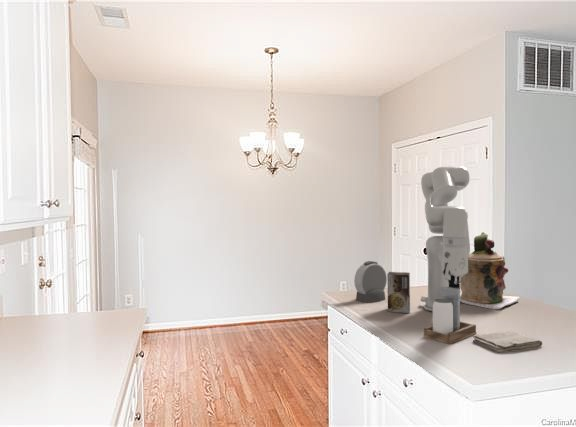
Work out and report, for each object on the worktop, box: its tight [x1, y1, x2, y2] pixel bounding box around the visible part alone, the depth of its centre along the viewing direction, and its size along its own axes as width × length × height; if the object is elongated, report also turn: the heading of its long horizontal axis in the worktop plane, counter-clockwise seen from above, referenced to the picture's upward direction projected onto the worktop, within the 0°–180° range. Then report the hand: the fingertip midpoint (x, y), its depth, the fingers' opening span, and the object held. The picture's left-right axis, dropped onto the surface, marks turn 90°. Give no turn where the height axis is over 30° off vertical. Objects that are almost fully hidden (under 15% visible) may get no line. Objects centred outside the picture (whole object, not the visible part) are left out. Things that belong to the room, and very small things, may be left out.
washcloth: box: [472, 330, 543, 353], centre depth 134 cm, size 12×18×3 cm, turn 109°
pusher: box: [440, 285, 461, 332], centre depth 143 cm, size 7×1×16 cm, turn 39°
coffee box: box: [386, 271, 411, 314], centre depth 176 cm, size 9×6×16 cm
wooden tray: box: [423, 320, 477, 345], centre depth 143 cm, size 10×17×3 cm, turn 129°
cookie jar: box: [460, 231, 520, 311], centre depth 192 cm, size 25×25×32 cm
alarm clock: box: [354, 260, 388, 304], centre depth 196 cm, size 16×10×18 cm, turn 120°
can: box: [432, 299, 453, 335], centre depth 141 cm, size 6×6×12 cm
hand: (454, 294), depth 144 cm, fingers closed
